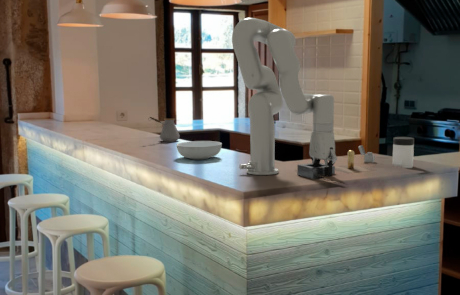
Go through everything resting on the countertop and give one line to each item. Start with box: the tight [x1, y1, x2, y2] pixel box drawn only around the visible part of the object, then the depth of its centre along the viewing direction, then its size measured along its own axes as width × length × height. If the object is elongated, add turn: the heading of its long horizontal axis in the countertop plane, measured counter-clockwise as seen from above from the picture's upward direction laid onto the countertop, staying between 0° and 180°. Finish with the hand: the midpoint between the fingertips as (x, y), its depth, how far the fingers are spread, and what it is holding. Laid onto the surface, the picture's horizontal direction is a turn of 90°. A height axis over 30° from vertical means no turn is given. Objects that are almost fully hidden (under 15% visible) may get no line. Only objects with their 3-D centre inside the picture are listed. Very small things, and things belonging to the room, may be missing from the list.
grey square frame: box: [296, 162, 336, 180], centre depth 209 cm, size 10×10×4 cm
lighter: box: [358, 144, 376, 163], centre depth 234 cm, size 7×2×8 cm, turn 51°
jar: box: [392, 136, 415, 169], centre depth 227 cm, size 9×8×12 cm
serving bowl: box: [176, 140, 223, 161], centre depth 254 cm, size 21×21×7 cm
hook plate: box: [335, 164, 376, 174], centre depth 217 cm, size 14×14×1 cm
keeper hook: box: [347, 149, 356, 169], centre depth 217 cm, size 3×3×7 cm
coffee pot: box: [148, 116, 181, 143], centre depth 312 cm, size 21×12×15 cm, turn 142°
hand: (322, 175), depth 206 cm, fingers open, 6 cm apart
